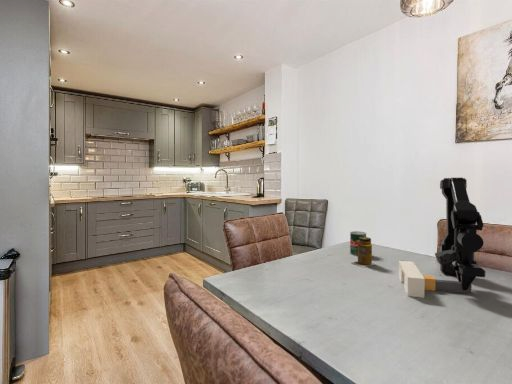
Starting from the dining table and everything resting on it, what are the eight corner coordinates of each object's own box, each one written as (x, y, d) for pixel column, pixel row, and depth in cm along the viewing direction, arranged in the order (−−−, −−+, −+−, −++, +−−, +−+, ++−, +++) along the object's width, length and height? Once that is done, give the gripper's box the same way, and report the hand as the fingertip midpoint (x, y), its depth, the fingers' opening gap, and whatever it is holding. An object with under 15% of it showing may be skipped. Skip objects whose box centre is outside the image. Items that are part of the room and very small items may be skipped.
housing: (412, 277, 115) (412, 261, 115) (424, 297, 96) (424, 278, 96) (398, 276, 117) (399, 260, 116) (407, 295, 98) (407, 277, 97)
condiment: (375, 264, 133) (376, 238, 133) (364, 267, 129) (364, 240, 128) (362, 260, 139) (362, 235, 139) (350, 263, 135) (350, 238, 134)
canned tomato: (366, 252, 154) (366, 231, 153) (365, 256, 147) (365, 234, 146) (350, 251, 157) (351, 230, 156) (349, 254, 150) (349, 233, 149)
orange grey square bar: (467, 289, 102) (468, 278, 102) (472, 294, 99) (472, 282, 98) (419, 285, 107) (420, 274, 107) (422, 289, 103) (422, 278, 103)
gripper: (430, 237, 112) (430, 277, 113) (445, 249, 94) (444, 296, 95) (464, 239, 108) (463, 280, 109) (486, 251, 91) (485, 300, 91)
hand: (463, 288), depth 101 cm, fingers closed on orange grey square bar, 2 cm apart
